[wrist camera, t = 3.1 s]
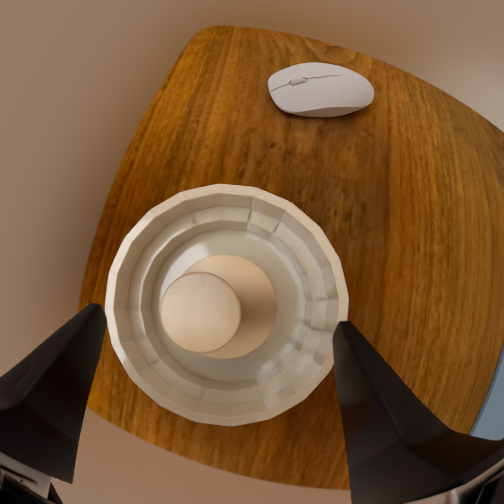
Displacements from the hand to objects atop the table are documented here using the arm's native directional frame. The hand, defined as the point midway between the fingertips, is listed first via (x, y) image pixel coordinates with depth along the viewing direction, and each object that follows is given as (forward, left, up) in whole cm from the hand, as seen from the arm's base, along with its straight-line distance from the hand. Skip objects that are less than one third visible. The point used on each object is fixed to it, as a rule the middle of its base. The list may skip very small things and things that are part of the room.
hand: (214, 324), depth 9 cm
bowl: (0, 0, -9) cm, 9 cm away
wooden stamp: (+1, 0, -8) cm, 8 cm away
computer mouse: (+20, 0, -9) cm, 22 cm away
